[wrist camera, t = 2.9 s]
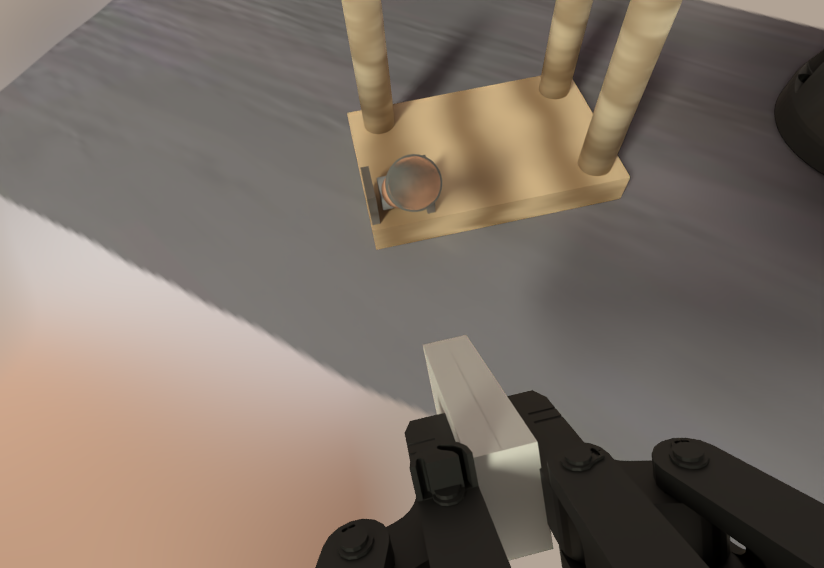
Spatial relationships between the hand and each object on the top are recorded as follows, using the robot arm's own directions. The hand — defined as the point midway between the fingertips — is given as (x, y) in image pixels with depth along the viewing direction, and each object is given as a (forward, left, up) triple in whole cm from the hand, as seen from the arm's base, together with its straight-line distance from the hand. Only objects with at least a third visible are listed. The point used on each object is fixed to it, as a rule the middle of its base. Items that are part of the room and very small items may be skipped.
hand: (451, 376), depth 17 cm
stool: (-8, -23, -16) cm, 29 cm away
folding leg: (-1, -19, -13) cm, 23 cm away
